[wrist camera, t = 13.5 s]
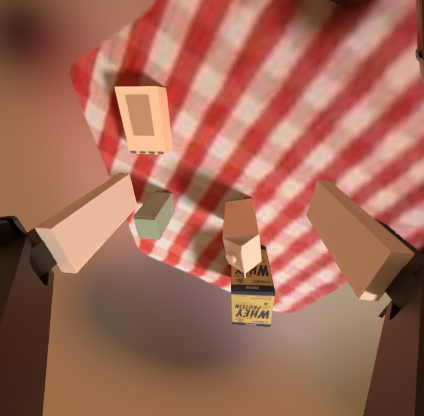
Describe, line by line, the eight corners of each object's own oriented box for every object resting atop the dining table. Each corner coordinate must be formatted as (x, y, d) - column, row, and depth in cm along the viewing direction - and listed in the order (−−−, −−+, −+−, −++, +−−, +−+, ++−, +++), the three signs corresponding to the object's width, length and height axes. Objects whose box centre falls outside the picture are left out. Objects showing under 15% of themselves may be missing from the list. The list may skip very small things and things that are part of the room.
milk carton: (252, 197, 47) (262, 249, 31) (254, 220, 50) (264, 277, 34) (225, 201, 48) (220, 252, 32) (229, 222, 52) (227, 279, 35)
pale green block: (154, 191, 49) (132, 216, 39) (172, 192, 49) (155, 218, 38) (157, 210, 52) (138, 238, 42) (174, 211, 52) (159, 239, 41)
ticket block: (128, 88, 37) (113, 86, 33) (166, 87, 36) (156, 86, 32) (140, 148, 43) (129, 153, 39) (172, 149, 43) (165, 154, 38)
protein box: (265, 245, 55) (276, 292, 41) (262, 279, 62) (270, 328, 49) (231, 245, 56) (230, 290, 43) (232, 278, 64) (232, 325, 50)
